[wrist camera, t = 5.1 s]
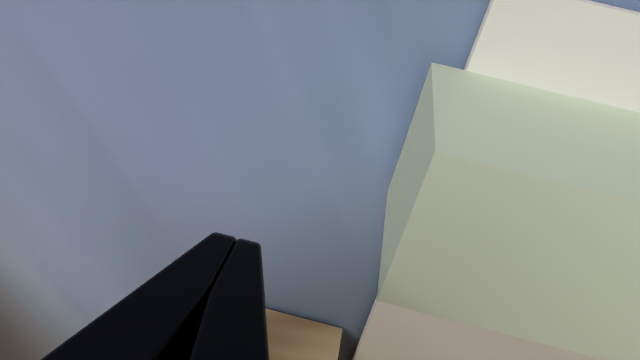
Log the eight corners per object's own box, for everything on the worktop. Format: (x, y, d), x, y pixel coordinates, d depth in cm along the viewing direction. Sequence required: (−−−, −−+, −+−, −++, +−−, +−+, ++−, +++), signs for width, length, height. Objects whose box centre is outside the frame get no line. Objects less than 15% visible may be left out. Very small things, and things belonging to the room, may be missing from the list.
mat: (332, 411, 22) (331, 418, 21) (498, -21, 10) (500, -18, 10) (559, 472, 21) (561, 479, 21) (996, 95, 10) (1010, 100, 10)
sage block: (376, 300, 10) (789, 408, 10) (435, 150, 8) (979, 285, 8) (387, 192, 14) (700, 270, 13) (431, 62, 11) (814, 154, 11)
